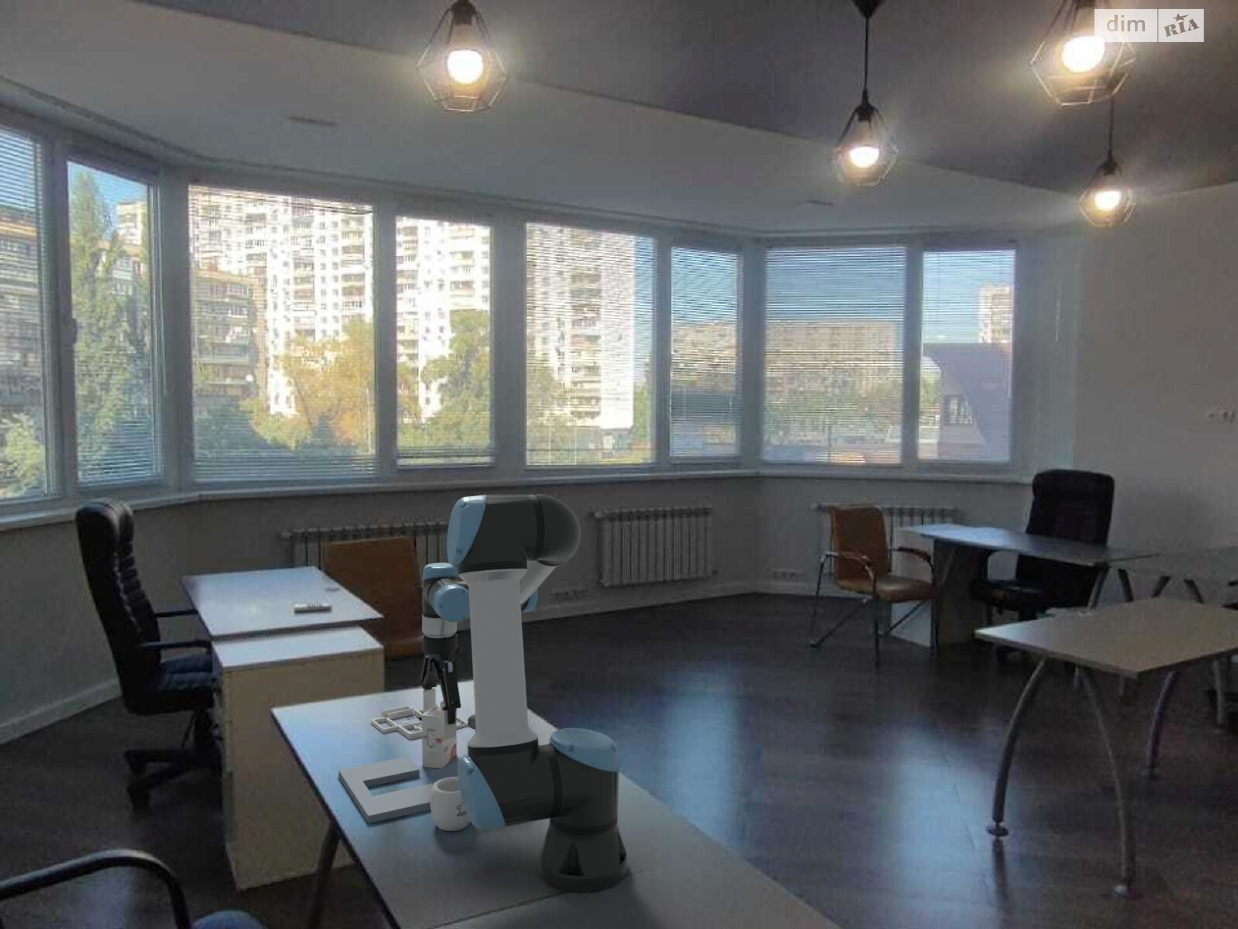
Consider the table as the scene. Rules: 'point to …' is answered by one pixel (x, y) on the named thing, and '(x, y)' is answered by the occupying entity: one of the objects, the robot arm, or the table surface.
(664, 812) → the table surface
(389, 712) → the floor plan model
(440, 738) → the ink cartridge box
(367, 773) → the notched board
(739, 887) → the table surface
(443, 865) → the table surface
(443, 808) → the mug
